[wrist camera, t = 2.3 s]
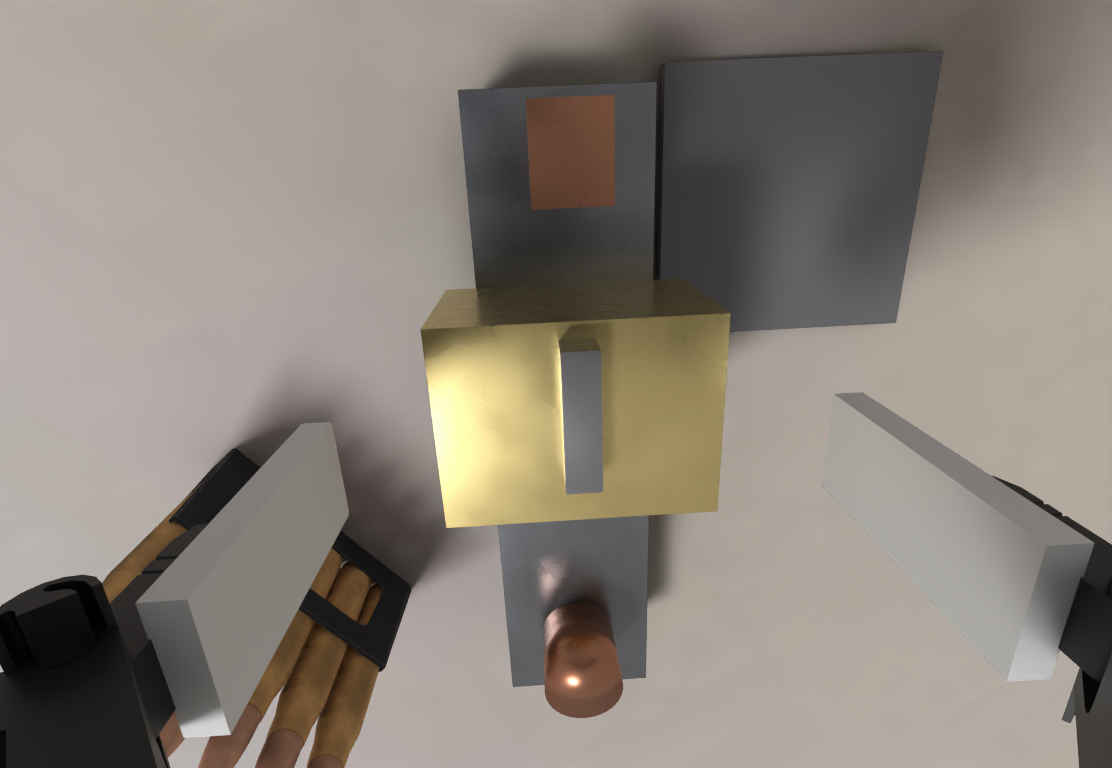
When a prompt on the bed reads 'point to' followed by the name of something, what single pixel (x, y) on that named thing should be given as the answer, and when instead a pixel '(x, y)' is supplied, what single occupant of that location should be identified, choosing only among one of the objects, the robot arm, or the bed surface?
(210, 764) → the ammunition clip
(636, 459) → the lever cap
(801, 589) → the bed surface
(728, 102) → the felt mat
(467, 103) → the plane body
